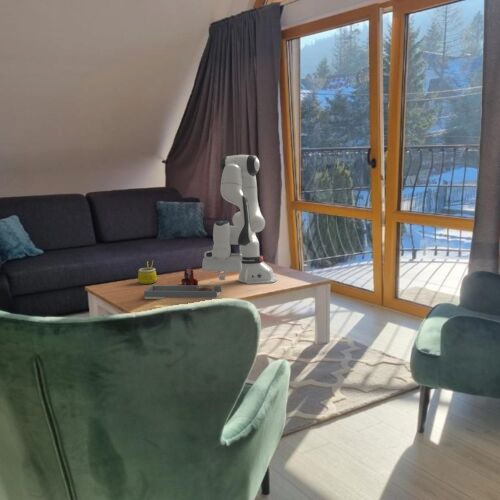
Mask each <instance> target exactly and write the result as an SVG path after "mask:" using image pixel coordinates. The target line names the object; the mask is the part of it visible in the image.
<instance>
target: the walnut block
mask: <svg viewBox="0 0 500 500" xmlns="http://www.w3.org/2000/svg"><path fill="white" fill-rule="evenodd" d="M197 286H198V287H197V288H196V290H197V291H214V286H215V285H214V284H213V285H212V284H209V285H207V284H198V285H197Z"/></svg>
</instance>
